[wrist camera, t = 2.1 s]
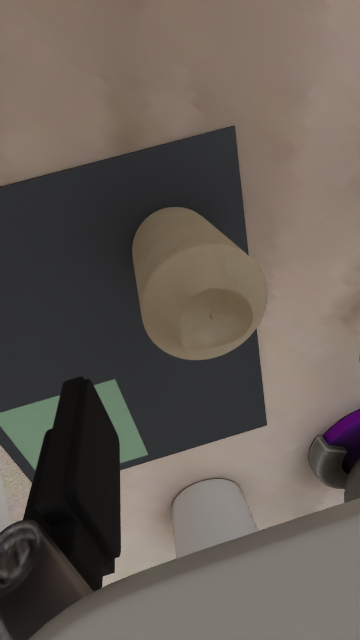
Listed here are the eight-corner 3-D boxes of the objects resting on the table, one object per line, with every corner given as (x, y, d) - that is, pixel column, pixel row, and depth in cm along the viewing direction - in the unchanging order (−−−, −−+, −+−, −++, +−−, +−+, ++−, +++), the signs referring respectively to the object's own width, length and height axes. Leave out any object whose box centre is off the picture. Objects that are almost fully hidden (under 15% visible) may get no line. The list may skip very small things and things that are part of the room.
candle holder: (147, 511, 35) (160, 665, 25) (209, 462, 33) (252, 608, 22) (205, 532, 40) (236, 668, 29) (263, 489, 37) (320, 622, 27)
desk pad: (-172, 231, 17) (-175, 232, 17) (233, 125, 18) (234, 125, 18) (41, 492, 30) (41, 494, 30) (266, 423, 31) (266, 425, 31)
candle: (155, 300, 22) (181, 400, 14) (115, 230, 19) (115, 301, 11) (225, 265, 22) (297, 344, 13) (195, 189, 19) (261, 227, 10)
